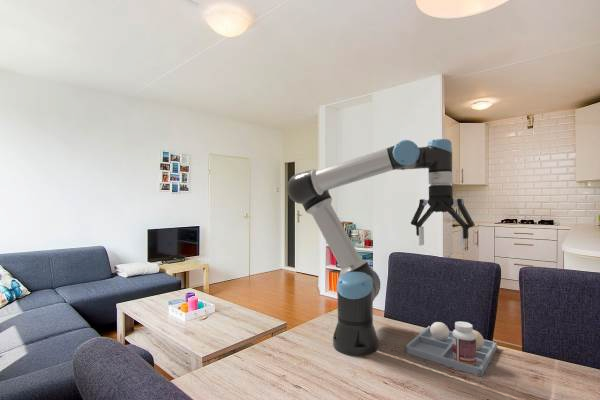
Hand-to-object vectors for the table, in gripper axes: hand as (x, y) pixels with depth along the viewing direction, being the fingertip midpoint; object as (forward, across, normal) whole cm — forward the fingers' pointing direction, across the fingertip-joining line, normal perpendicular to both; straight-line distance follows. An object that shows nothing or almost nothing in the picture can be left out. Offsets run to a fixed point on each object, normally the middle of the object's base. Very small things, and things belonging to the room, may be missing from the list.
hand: (441, 246), depth 108 cm
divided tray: (+32, +5, -6) cm, 33 cm away
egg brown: (+32, +10, -1) cm, 33 cm away
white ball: (+32, -1, -1) cm, 32 cm away
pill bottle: (+32, +10, -11) cm, 35 cm away
